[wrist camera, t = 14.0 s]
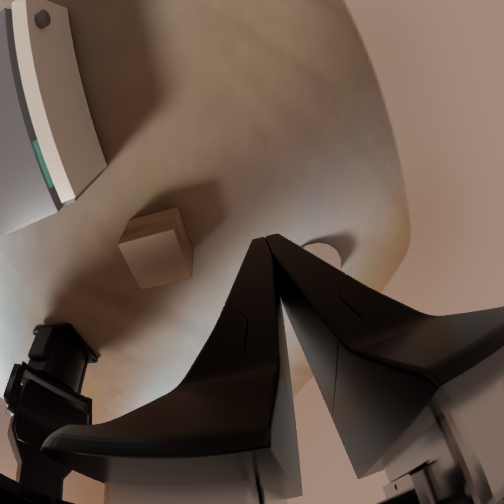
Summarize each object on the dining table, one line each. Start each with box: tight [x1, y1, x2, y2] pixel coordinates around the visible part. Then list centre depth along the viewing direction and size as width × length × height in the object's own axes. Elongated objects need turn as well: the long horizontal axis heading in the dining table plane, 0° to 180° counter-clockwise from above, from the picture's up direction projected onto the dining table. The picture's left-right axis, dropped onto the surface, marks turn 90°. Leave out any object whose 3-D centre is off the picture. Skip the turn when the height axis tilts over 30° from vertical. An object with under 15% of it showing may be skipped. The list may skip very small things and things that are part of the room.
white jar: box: [303, 243, 341, 271], centre depth 24 cm, size 5×3×5 cm
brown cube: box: [118, 206, 193, 290], centre depth 20 cm, size 4×4×4 cm
